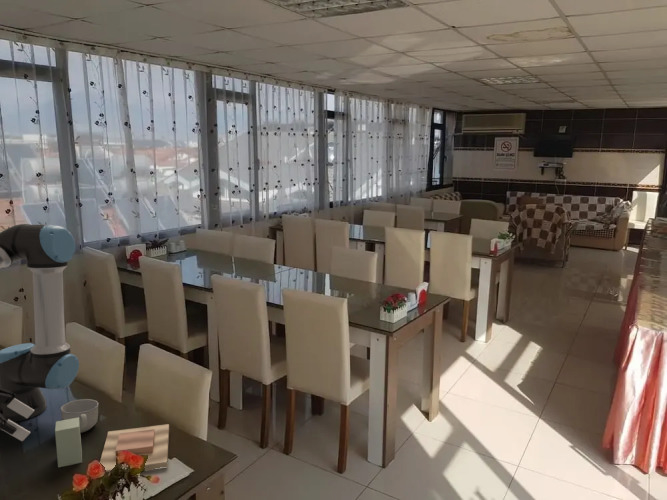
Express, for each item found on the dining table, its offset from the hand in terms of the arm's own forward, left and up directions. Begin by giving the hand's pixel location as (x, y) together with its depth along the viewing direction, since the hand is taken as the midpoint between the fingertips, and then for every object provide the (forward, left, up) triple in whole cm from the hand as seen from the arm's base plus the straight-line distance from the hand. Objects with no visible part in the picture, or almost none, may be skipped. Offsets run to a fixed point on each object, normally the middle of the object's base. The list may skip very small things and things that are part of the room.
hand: (28, 425), depth 142 cm
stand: (-1, +27, -13) cm, 30 cm away
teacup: (-19, +9, -13) cm, 25 cm away
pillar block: (-2, +9, -13) cm, 16 cm away
